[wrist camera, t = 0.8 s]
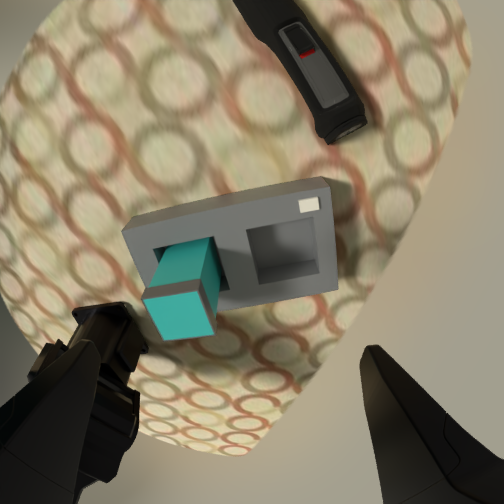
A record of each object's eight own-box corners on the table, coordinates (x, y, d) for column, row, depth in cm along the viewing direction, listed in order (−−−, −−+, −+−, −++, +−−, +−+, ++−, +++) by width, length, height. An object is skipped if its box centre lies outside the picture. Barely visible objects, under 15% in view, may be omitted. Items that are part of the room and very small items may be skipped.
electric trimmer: (249, -48, 12) (249, -68, 9) (366, 123, 18) (385, 128, 15) (202, -26, 13) (194, -44, 10) (322, 147, 19) (334, 155, 16)
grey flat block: (167, 300, 25) (160, 321, 23) (132, 216, 21) (120, 232, 19) (330, 271, 24) (339, 291, 21) (320, 176, 20) (330, 187, 18)
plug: (182, 277, 23) (163, 341, 17) (168, 240, 22) (140, 298, 15) (223, 270, 23) (216, 335, 17) (211, 231, 21) (198, 289, 15)
